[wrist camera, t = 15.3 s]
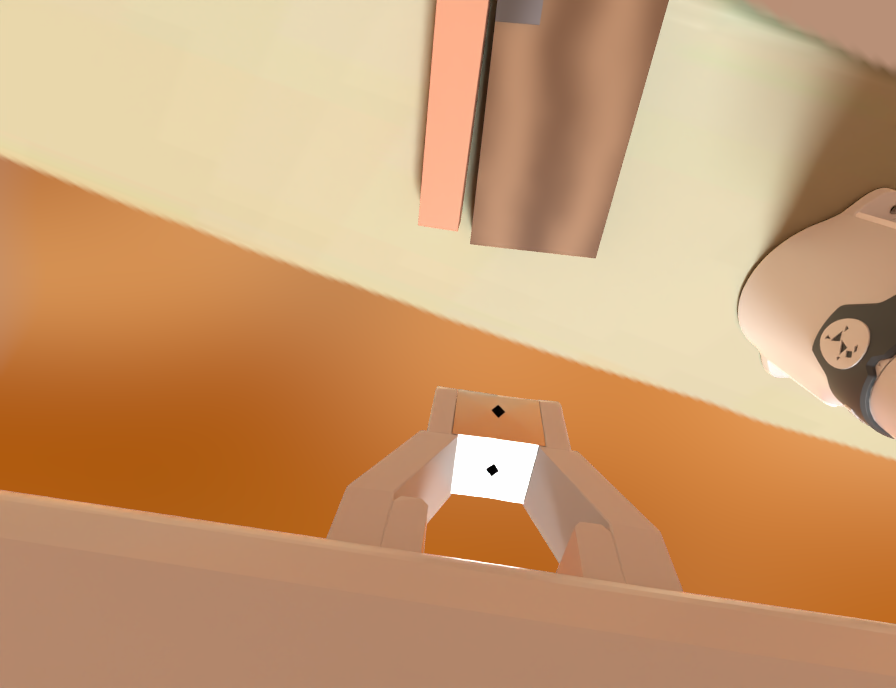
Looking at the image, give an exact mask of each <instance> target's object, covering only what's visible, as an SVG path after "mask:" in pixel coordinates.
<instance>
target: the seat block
mask: <svg viewBox="0 0 896 688" xmlns="http://www.w3.org/2000/svg"><path fill="white" fill-rule="evenodd" d="M668 1H669V0H497V9H496V18H495V28H494V36H493V45H492V54H491V63H490V72H489V81H488V90H487V99H486V107H485V116H484V125H483V134H482V143H481V152H480V161H479V170H478V178H477V187H476V196H475V205H474V214H473V223H472V232H471V241H470V244H474V245H482V246H491V247H500V248H509V249H518V250H527V251H536V252H545V253H553V254H562V255H571V256H580V257H589V258H596V255H597V251H598V248H599V244H600V241H601V237H602V234H603V230H604V227H605V223H606V220H607V216H608V213H609V209H610V206H611V202H612V199H613V195H614V192H615V188H616V184H617V181H618V177H619V174H620V170H621V167H622V163H623V160H624V156H625V153H626V149H627V146H628V142H629V139H630V135H631V132H632V128H633V125H634V121H635V118H636V114H637V110H638V107H639V103H640V100H641V96H642V93H643V89H644V86H645V82H646V79H647V75H648V72H649V68H650V65H651V61H652V58H653V54H654V51H655V47H656V44H657V40H658V36H659V33H660V29H661V26H662V22H663V19H664V15H665V12H666V8H667V5H668Z"/></svg>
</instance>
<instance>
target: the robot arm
mask: <svg viewBox="0 0 896 688" xmlns="http://www.w3.org/2000/svg"><path fill="white" fill-rule="evenodd" d="M894 205H895V208H894V209H893V210H892V211H890V210H891V208H892V207H893V206H894ZM738 319H739V324H740V327H741V330H742V332H743V334H744V335H745V337H746V338H747V339H748V340H749V341H750V342H751V343H752V344H753V345H754V346H755V347H756V348H757V349H758V351H759V352H760V355H761V360H762V364H763V367H764V369H765V371H767V372H768V373H769V374H771V375H772V376H774V377H778V378H785V377H790V378H791V379H793V380H794V381H795V382H797V383H798V384H799V385H801V386H802V387H803V388H805V389H806V390H807V391H809V392H810V393H811V394H813V395H814V396H815V397H817V398H818V399H820V400H821V401H822V402H824V403H825V404H827V405H830V406H833V407H835V406H845V407H846V408H847V409H848V411H849V412H850V413H851V414H853V415H854V416H855V417H856V418H858V419H859V420H860V421H862V422H863V423H866V424H867V425H868V426H870V427H872V428H873V429H874V430H876V431H877V432H879V433H881V434H882V435H884V436H887V437H890V438H893V439H896V190H893V189H890V188H879V189H876V190H874V191H872V192H870V193H868V194H867V195H865V196H864V197H862V198H861V199H859V200H858V201H857V202H855V203H854V204H853V205H851V206H850V207H849V208H847V209H846V210H845V211H843V212H842V213H841V214H839V215H837V216H835V217H833V218H830V219H828V220H825V221H823V222H820V223H818V224H815V225H813V226H811V227H808V228H806V229H804V230H802V231H800V232H799V233H797V234H795V235H793V236H792V237H790V238H789V239H787V240H786V241H784V242H783V243H781V244H780V245H779V246H777V247H776V248H775V249H774V250H773V251H772V252H770V253H769V254H768V255H767V256H766V257H765V258H764V259H763V260H762V261H761V263H760V264H759V265H758V266H757V267H756V269H755V270H754V271H753V273H752V274H751V276H750V277H749V279H748V280H747V282H746V284H745V286H744V288H743V291H742V294H741V297H740V300H739V306H738ZM456 398H457V400H456ZM451 493H456V494H464V495H473V496H482V497H489V498H495V499H501V500H507V501H513V502H518V503H523V506H524V507H525V509H526V511H527V512H528V514H529V516H530V517H531V519H532V520H533V522H534V524H535V525H536V527H537V528H538V530H539V532H540V533H541V535H542V536H543V538H544V540H545V541H546V543H547V544H548V546H549V548H550V549H551V551H552V552H553V554H554V556H555V557H556V559H557V560H558V562H559V567H558V569H557V572H556V573H551V572H545V571H538V570H531V569H525V568H518V567H511V566H505V565H498V564H491V563H484V562H478V561H471V560H465V559H458V558H452V557H445V556H438V555H432V554H424V546H425V534H426V524H427V523H428V522H429V520H430V519H431V518H432V517H433V515H434V514H435V513H436V512H437V511H438V510H439V509H440V507H441V506H442V505H443V503H444V502H445V501H446V500H447V499H448V498H449V497H450V495H451ZM0 688H896V624H891V623H884V622H878V621H871V620H865V619H857V618H852V617H845V616H838V615H832V614H825V613H818V612H812V611H805V610H798V609H791V608H785V607H778V606H771V605H765V604H758V603H752V602H745V601H738V600H732V599H725V598H718V597H712V596H705V595H699V594H692V593H685V592H683V590H682V587H681V584H680V582H679V579H678V577H677V574H676V572H675V569H674V566H673V564H672V561H671V559H670V556H669V553H668V551H667V548H666V545H665V543H664V541H663V538H662V535H661V533H660V531H659V530H658V529H657V528H656V527H655V526H654V525H653V524H652V523H651V522H649V520H648V519H646V518H645V517H644V516H643V515H642V514H641V513H640V512H639V511H638V510H637V509H636V508H635V507H634V506H633V505H632V504H631V503H630V502H629V501H628V500H627V499H626V498H625V497H624V496H623V495H622V494H621V493H620V492H618V490H617V489H616V488H615V487H614V486H613V485H612V484H611V483H609V482H608V481H607V480H606V479H605V478H604V477H603V476H602V475H601V474H600V473H599V472H598V471H597V470H596V469H595V468H594V467H593V466H592V465H591V464H590V463H589V462H588V461H587V460H586V459H585V458H584V457H583V456H582V455H581V454H580V453H579V452H577V451H571V447H570V443H569V439H568V434H567V430H566V425H565V421H564V417H563V412H562V408H561V404H560V403H559V402H554V401H545V400H530V399H522V398H514V397H506V396H498V395H494V394H487V393H481V392H474V391H467V390H461V389H458V393H457V389H452V388H446V387H439V386H438V387H437V388H436V392H435V396H434V401H433V405H432V410H431V415H430V419H429V424H428V429H427V431H424V430H421V431H419V432H418V433H417V434H415V435H414V436H413V437H412V438H410V439H409V440H407V441H406V442H405V443H404V444H402V445H401V446H400V447H398V448H397V449H396V450H394V451H393V452H392V453H390V454H389V455H388V456H386V457H385V458H384V459H383V460H381V461H380V462H379V463H377V464H376V465H374V466H373V467H372V468H371V469H369V470H368V471H367V472H365V473H364V474H363V475H361V476H360V477H359V478H358V479H356V480H355V481H353V482H352V483H351V484H350V485H349V486H347V488H346V490H345V493H344V495H343V498H342V500H341V503H340V505H339V508H338V510H337V513H336V515H335V518H334V521H333V523H332V526H331V528H330V531H329V533H328V536H327V538H326V539H324V538H318V537H311V536H304V535H298V534H291V533H285V532H278V531H271V530H265V529H258V528H251V527H245V526H237V525H231V524H224V523H218V522H211V521H205V520H198V519H191V518H185V517H178V516H171V515H164V514H158V513H151V512H144V511H137V510H131V509H124V508H117V507H111V506H104V505H97V504H90V503H84V502H77V501H71V500H64V499H57V498H51V497H44V496H37V495H30V494H24V493H17V492H10V491H4V490H0Z"/></svg>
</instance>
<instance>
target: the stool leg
mask: <svg viewBox="0 0 896 688" xmlns="http://www.w3.org/2000/svg"><path fill="white" fill-rule="evenodd" d="M489 10H490V0H437V4H436V16H435V28H434V40H433V52H432V64H431V76H430V88H429V101H428V113H427V125H426V137H425V149H424V161H423V173H422V185H421V197H420V209H419V221H418V225H419V226H426V227H432V228H439V229H446V230H452V231H458V228H459V225H460V222H461V214H462V207H463V200H464V193H465V185H466V178H467V171H468V163H469V156H470V149H471V142H472V134H473V127H474V120H475V112H476V105H477V98H478V90H479V83H480V76H481V69H482V61H483V54H484V47H485V39H486V32H487V25H488V18H489Z"/></svg>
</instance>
